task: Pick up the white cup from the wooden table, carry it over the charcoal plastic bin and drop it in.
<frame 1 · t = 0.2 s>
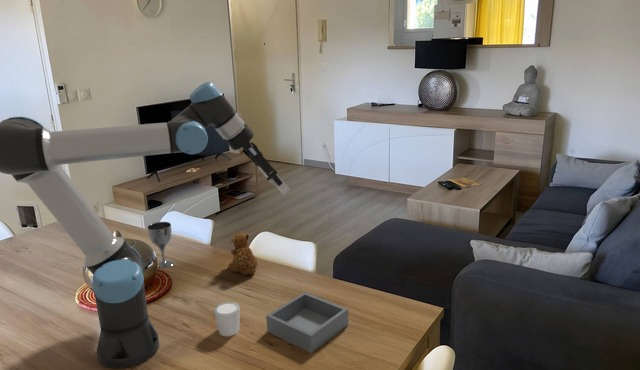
hand: (279, 185, 147), 35 cm above the table, tool tilted 35°, fingers open, 13 cm apart
white cup: (229, 331, 136), on the table
wine glass: (164, 264, 178), on the table
charcoal bin: (308, 328, 136), on the table
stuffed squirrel: (245, 271, 172), on the table
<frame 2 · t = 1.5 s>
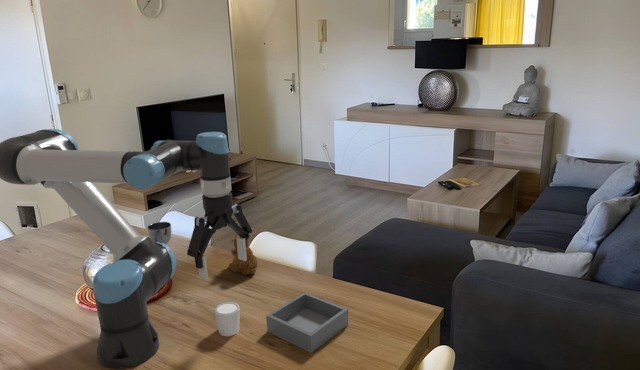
hand: (223, 268, 131), 19 cm above the table, tool pointing down, fingers open, 13 cm apart
nothing on the table moved.
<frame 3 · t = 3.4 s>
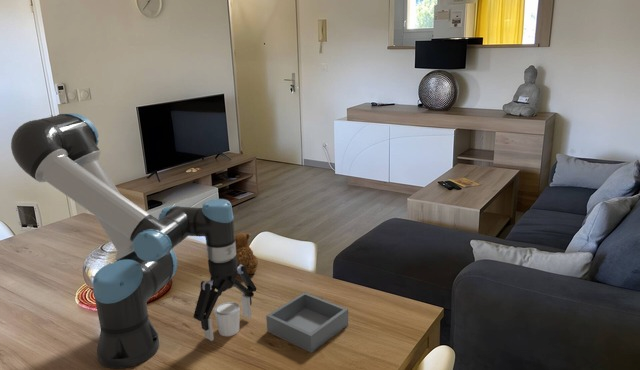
hand: (228, 327, 136), 1 cm above the table, tool pointing down, fingers open, 13 cm apart
nothing on the table moved.
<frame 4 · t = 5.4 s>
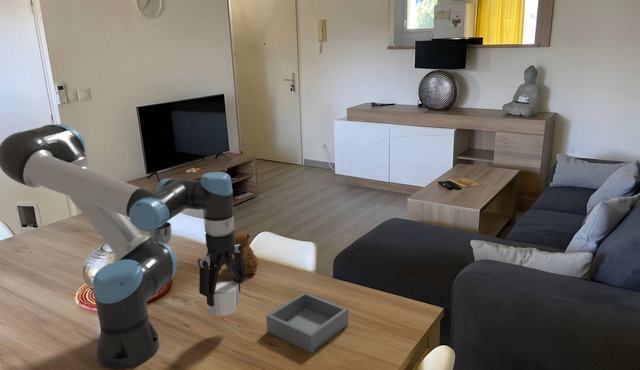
hand: (225, 309, 134), 7 cm above the table, tool pointing down, fingers closed on white cup, 7 cm apart
white cup: (225, 310, 135), point 6 cm above the table, touching gripper
everything else where it was.
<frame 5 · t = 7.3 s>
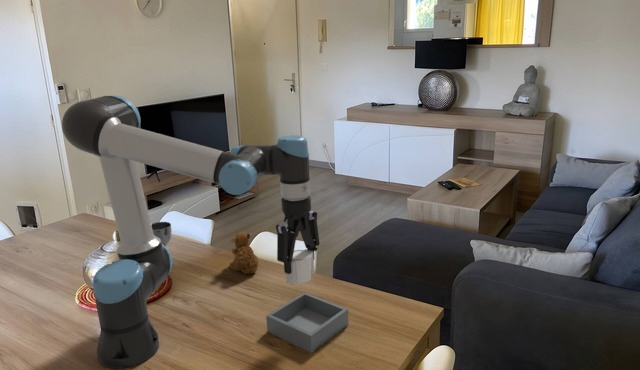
hand: (300, 277, 132), 16 cm above the table, tool pointing down, fingers closed on white cup, 7 cm apart
white cup: (300, 279, 132), point 15 cm above the table, touching gripper
everything else where it was.
when the fingers open (6 cm above the table, at t = 9.6 s): white cup drops 6 cm, resting on charcoal bin.
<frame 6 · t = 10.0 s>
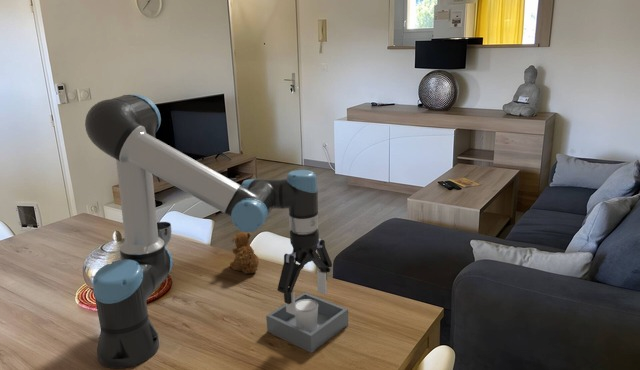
hand: (307, 302, 134), 8 cm above the table, tool pointing down, fingers open, 12 cm apart
white cup: (306, 328, 136), resting on charcoal bin
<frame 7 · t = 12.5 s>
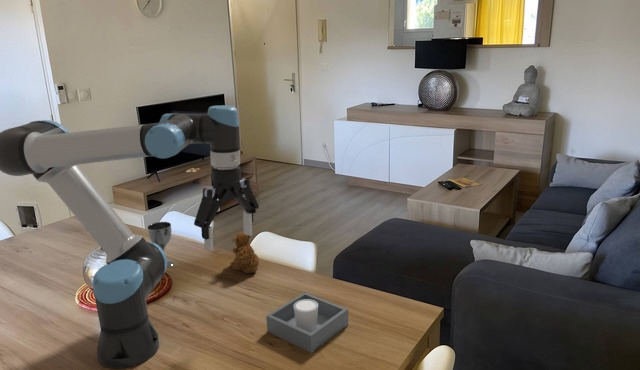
hand: (229, 241, 133), 25 cm above the table, tool pointing down, fingers open, 13 cm apart
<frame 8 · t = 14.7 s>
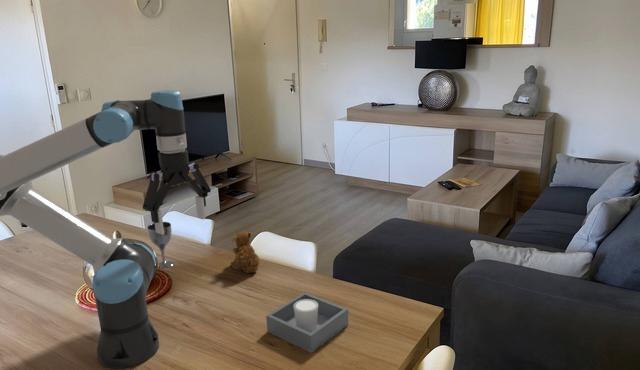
hand: (181, 225, 135), 29 cm above the table, tool pointing down, fingers open, 13 cm apart
at the end: white cup inside the target area on the charcoal bin (0.6 cm from its centre), point 0.3 cm above the charcoal bin's base; the gripper is holding nothing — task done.
